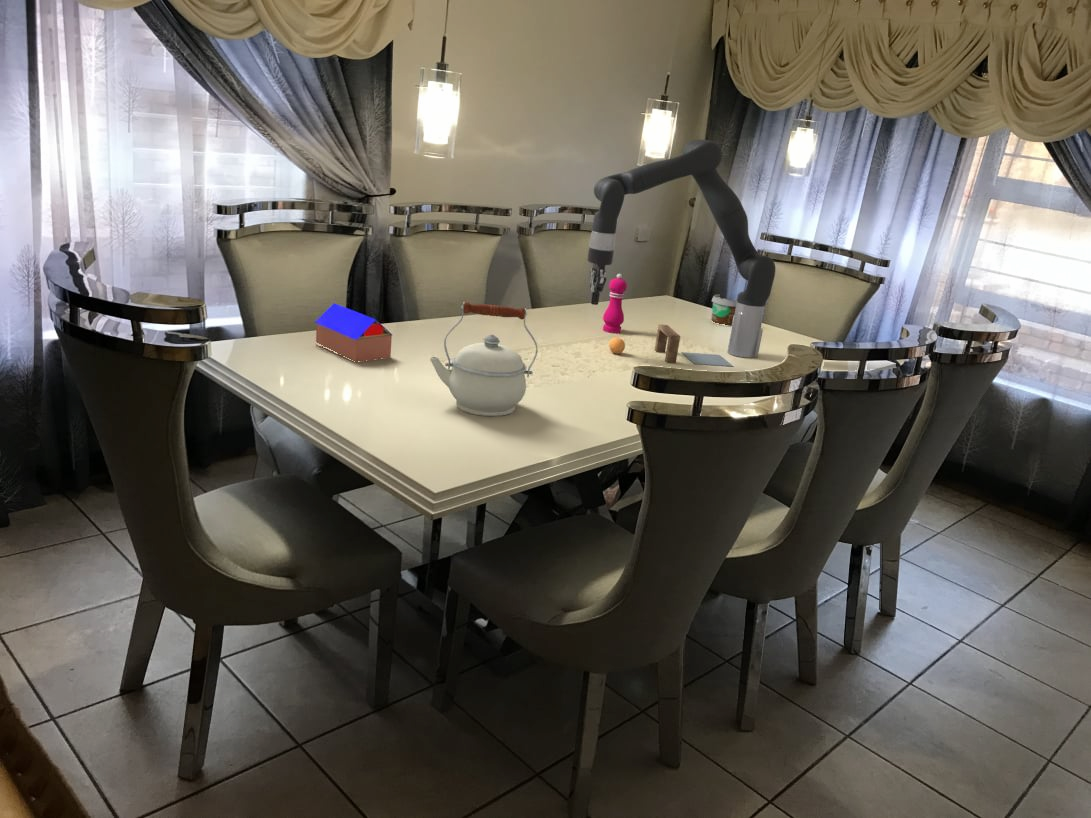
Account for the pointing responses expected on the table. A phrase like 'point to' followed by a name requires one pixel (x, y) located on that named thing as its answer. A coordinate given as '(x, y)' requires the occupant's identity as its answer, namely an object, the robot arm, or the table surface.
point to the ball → (617, 345)
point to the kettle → (486, 369)
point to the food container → (723, 310)
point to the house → (353, 334)
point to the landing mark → (707, 359)
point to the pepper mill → (615, 306)
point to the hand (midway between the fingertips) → (594, 304)
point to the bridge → (672, 345)
